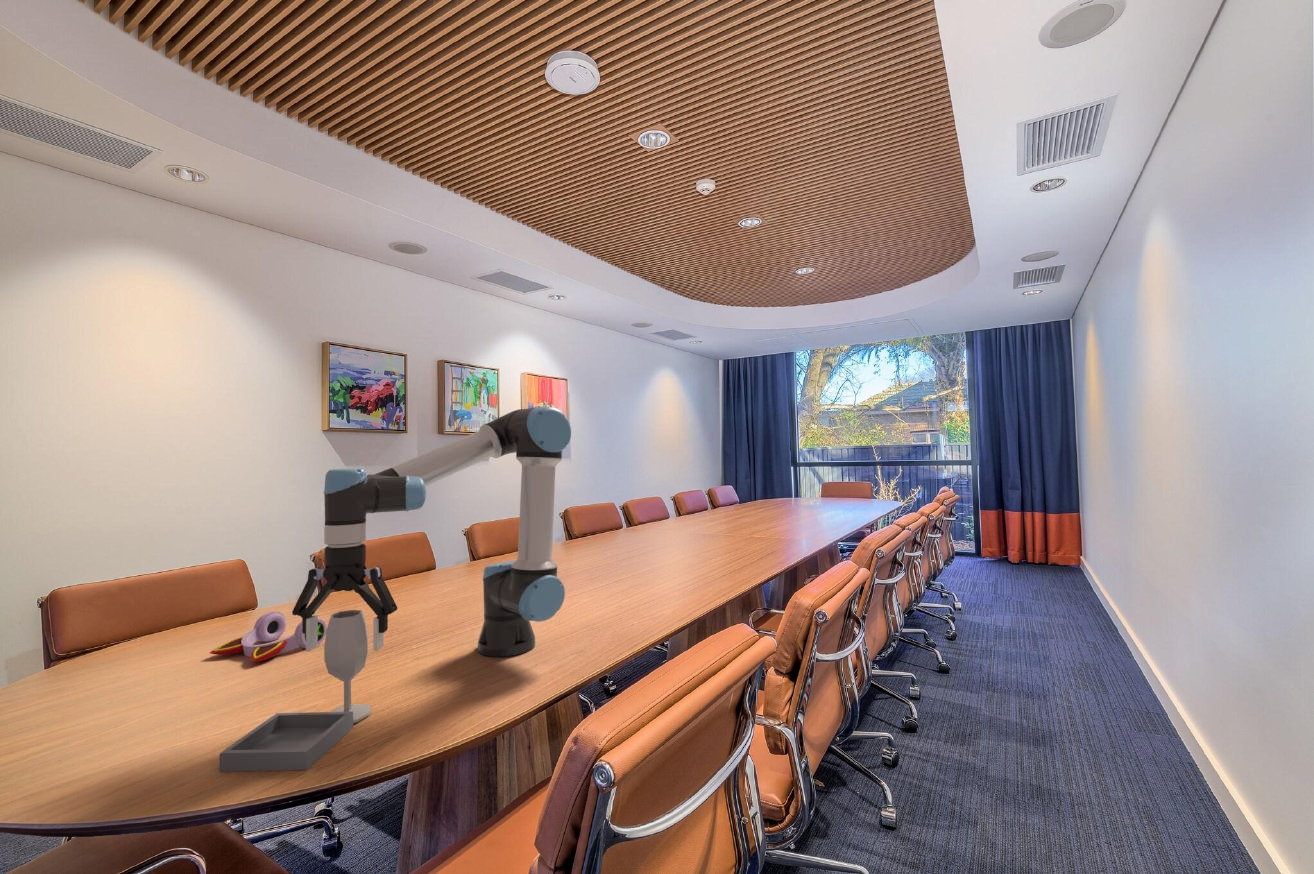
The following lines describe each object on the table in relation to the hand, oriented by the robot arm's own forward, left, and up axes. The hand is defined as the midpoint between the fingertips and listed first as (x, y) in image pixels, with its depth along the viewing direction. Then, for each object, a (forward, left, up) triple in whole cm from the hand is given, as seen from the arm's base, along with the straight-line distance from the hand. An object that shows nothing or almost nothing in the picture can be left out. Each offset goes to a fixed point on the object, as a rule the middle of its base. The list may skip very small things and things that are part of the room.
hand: (345, 649), depth 119 cm
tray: (+4, +12, -14) cm, 19 cm away
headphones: (+43, -42, -14) cm, 62 cm away
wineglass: (0, 0, -14) cm, 14 cm away
